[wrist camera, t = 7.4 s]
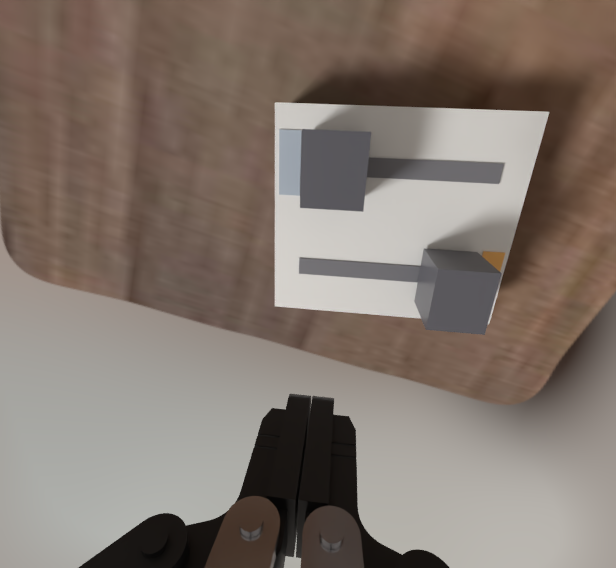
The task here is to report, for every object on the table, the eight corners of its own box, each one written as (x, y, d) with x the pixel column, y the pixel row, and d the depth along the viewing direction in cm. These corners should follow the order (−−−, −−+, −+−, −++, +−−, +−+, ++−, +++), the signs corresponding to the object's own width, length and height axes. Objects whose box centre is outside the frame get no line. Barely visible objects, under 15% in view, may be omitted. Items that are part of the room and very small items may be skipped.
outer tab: (414, 301, 25) (425, 329, 21) (423, 248, 23) (438, 268, 20) (464, 305, 25) (484, 334, 21) (477, 251, 23) (501, 273, 19)
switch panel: (283, 285, 30) (274, 306, 26) (285, 107, 25) (274, 102, 21) (471, 300, 29) (489, 324, 25) (517, 115, 23) (550, 111, 20)
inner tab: (307, 196, 23) (299, 207, 19) (310, 130, 21) (302, 128, 17) (360, 199, 22) (363, 211, 19) (367, 132, 21) (371, 131, 17)
